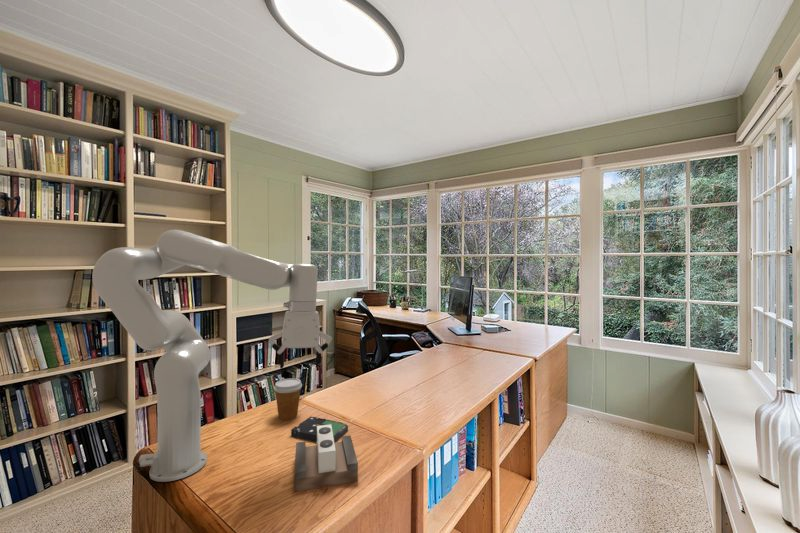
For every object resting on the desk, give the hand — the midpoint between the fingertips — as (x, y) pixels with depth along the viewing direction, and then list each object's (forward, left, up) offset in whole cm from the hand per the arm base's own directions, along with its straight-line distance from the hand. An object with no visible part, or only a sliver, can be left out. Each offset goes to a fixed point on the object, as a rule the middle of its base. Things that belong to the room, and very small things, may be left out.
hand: (299, 366), depth 95 cm
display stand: (+7, -10, -25) cm, 27 cm away
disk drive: (+6, +10, -25) cm, 28 cm away
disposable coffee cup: (-4, +25, -25) cm, 35 cm away
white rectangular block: (+7, -9, -22) cm, 24 cm away
